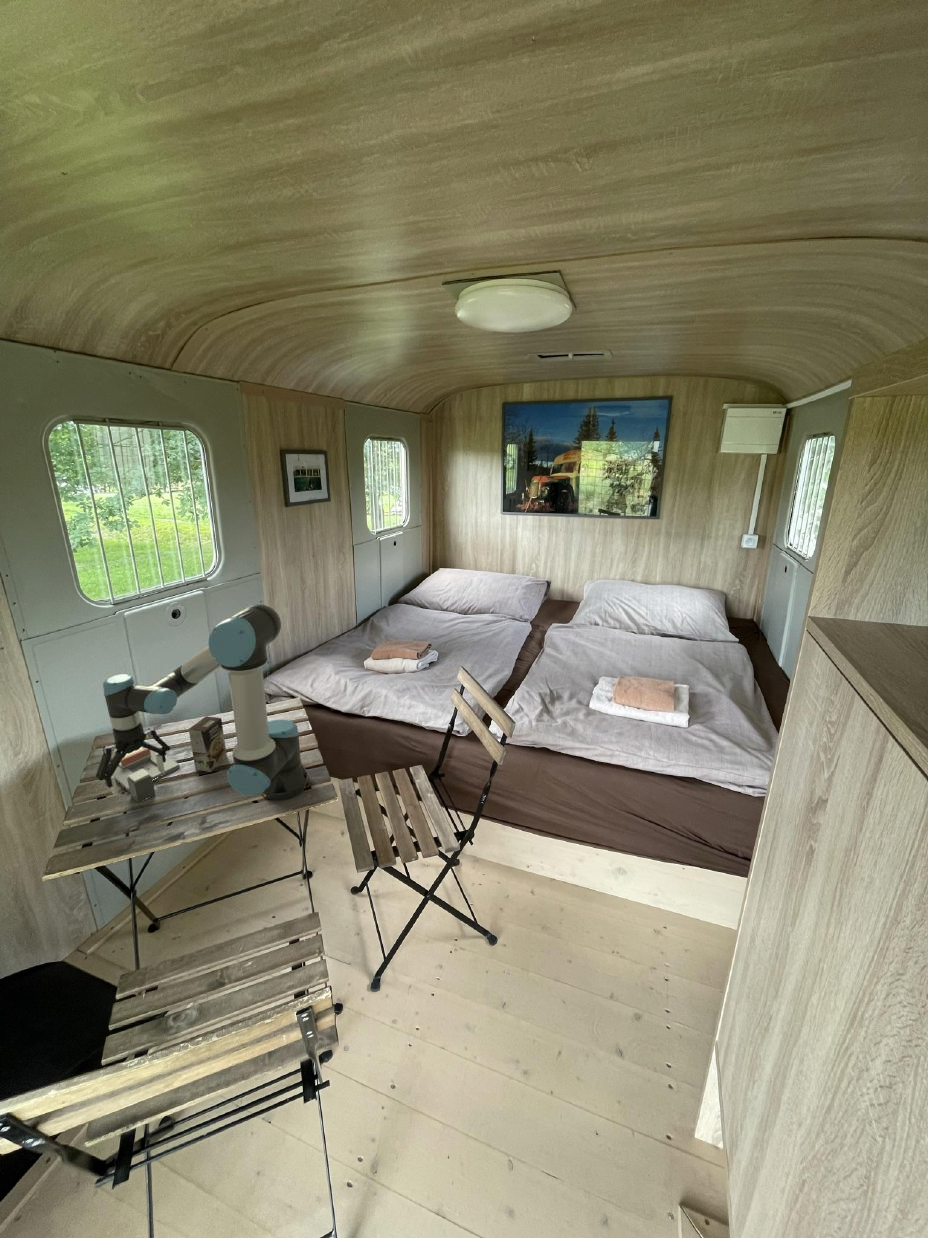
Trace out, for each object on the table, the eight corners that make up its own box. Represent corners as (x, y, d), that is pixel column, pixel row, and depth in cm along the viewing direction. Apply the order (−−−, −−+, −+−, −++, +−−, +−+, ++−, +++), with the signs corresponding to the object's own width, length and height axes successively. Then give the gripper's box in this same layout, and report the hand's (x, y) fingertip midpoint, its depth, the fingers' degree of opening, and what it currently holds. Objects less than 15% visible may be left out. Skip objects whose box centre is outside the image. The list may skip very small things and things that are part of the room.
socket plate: (179, 767, 173) (179, 764, 172) (129, 792, 160) (128, 788, 160) (157, 751, 181) (156, 747, 181) (107, 773, 169) (106, 769, 168)
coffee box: (211, 772, 171) (204, 731, 166) (194, 769, 172) (187, 729, 167) (228, 756, 180) (222, 717, 174) (212, 754, 181) (205, 715, 175)
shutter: (151, 755, 176) (149, 748, 175) (122, 768, 169) (121, 760, 168) (140, 747, 180) (138, 740, 179) (112, 759, 173) (110, 752, 172)
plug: (155, 794, 160) (151, 773, 157) (138, 803, 156) (133, 782, 153) (148, 788, 163) (143, 767, 160) (131, 796, 159) (126, 775, 156)
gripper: (163, 704, 162) (173, 759, 169) (72, 738, 143) (88, 798, 150) (175, 711, 158) (185, 767, 165) (83, 747, 139) (99, 809, 146)
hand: (139, 782), depth 158 cm, fingers open, 13 cm apart
